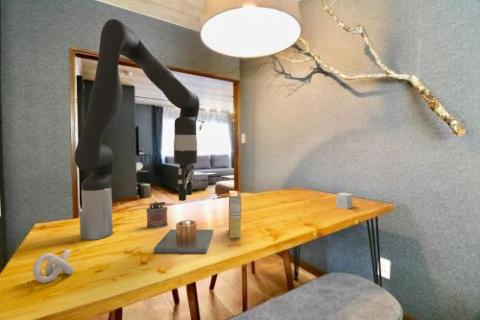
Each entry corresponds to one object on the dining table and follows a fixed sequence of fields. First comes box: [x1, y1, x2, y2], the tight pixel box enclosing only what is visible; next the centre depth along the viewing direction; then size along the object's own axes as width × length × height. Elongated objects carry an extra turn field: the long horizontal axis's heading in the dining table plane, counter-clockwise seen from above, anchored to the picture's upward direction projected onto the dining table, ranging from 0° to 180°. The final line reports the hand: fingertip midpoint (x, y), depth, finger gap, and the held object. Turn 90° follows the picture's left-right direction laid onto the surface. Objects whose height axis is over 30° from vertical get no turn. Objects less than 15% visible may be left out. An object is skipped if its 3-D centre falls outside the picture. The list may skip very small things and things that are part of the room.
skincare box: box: [335, 192, 354, 210], centre depth 123 cm, size 6×6×7 cm
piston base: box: [153, 220, 214, 254], centre depth 78 cm, size 16×16×7 cm
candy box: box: [228, 190, 242, 239], centre depth 85 cm, size 9×4×15 cm, turn 6°
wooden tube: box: [175, 219, 198, 242], centre depth 78 cm, size 7×7×5 cm
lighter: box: [146, 201, 169, 229], centre depth 94 cm, size 8×3×10 cm, turn 105°
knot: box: [32, 248, 75, 284], centre depth 57 cm, size 8×8×6 cm
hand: (185, 197), depth 77 cm, fingers open, 8 cm apart
